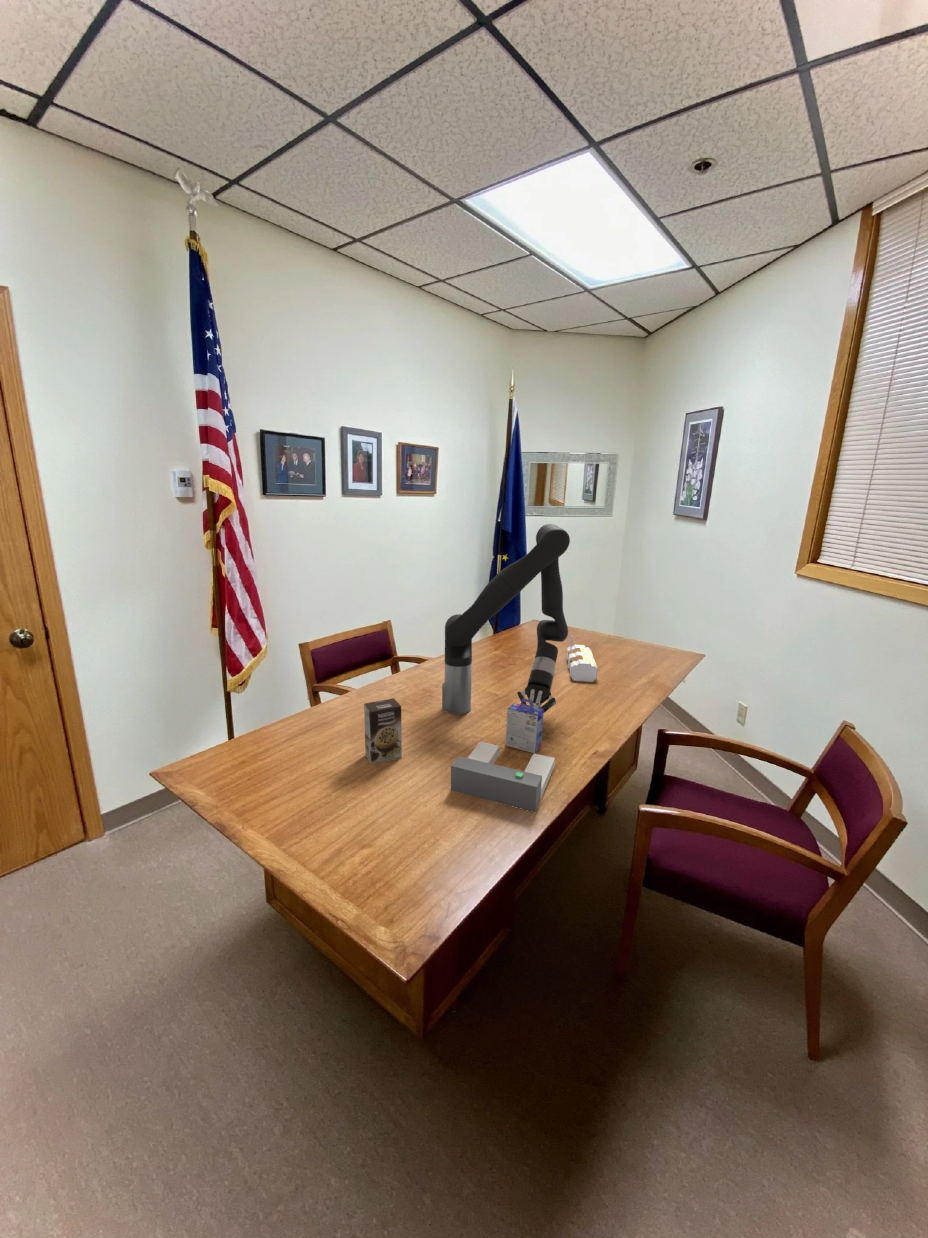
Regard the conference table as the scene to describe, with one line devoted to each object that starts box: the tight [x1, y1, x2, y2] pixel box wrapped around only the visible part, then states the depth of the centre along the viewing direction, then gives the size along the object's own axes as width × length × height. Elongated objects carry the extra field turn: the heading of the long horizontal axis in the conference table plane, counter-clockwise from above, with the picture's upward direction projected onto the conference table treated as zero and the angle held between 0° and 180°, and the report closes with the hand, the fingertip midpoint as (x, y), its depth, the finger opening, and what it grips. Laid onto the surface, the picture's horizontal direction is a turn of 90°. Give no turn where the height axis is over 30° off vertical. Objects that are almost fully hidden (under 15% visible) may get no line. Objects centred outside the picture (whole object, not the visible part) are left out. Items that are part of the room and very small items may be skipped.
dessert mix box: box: [363, 697, 403, 766], centre depth 135 cm, size 9×6×16 cm
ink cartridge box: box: [504, 698, 545, 754], centre depth 142 cm, size 10×6×14 cm, turn 62°
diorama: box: [566, 635, 598, 683], centre depth 205 cm, size 25×10×13 cm, turn 172°
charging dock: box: [450, 741, 556, 813], centre depth 127 cm, size 22×21×8 cm
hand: (530, 723), depth 150 cm, fingers closed
